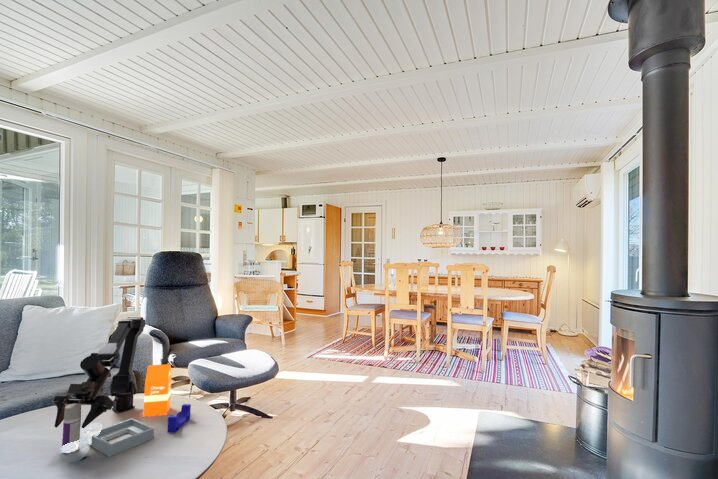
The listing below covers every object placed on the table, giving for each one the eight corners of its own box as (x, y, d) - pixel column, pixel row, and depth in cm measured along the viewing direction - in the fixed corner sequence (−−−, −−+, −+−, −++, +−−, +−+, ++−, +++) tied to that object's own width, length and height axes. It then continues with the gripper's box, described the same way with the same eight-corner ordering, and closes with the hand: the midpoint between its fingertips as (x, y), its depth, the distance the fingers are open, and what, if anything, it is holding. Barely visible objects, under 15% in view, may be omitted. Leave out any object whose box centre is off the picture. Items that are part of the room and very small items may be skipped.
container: (58, 451, 122) (61, 406, 123) (74, 445, 126) (77, 402, 127) (65, 455, 120) (68, 409, 121) (81, 449, 124) (84, 404, 125)
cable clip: (179, 418, 149) (179, 404, 149) (190, 419, 149) (190, 404, 149) (163, 433, 137) (164, 417, 137) (175, 433, 137) (175, 417, 137)
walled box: (131, 427, 140) (132, 418, 140) (153, 437, 133) (154, 428, 133) (87, 444, 127) (87, 433, 127) (109, 456, 120) (109, 446, 120)
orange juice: (147, 409, 156) (150, 362, 157) (170, 407, 159) (172, 361, 160) (142, 417, 149) (145, 368, 150) (166, 414, 152) (169, 366, 152)
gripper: (58, 371, 128) (27, 417, 117) (110, 373, 128) (84, 418, 117) (74, 386, 136) (46, 430, 124) (123, 387, 136) (100, 431, 124)
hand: (69, 427), depth 122 cm, fingers open, 9 cm apart
